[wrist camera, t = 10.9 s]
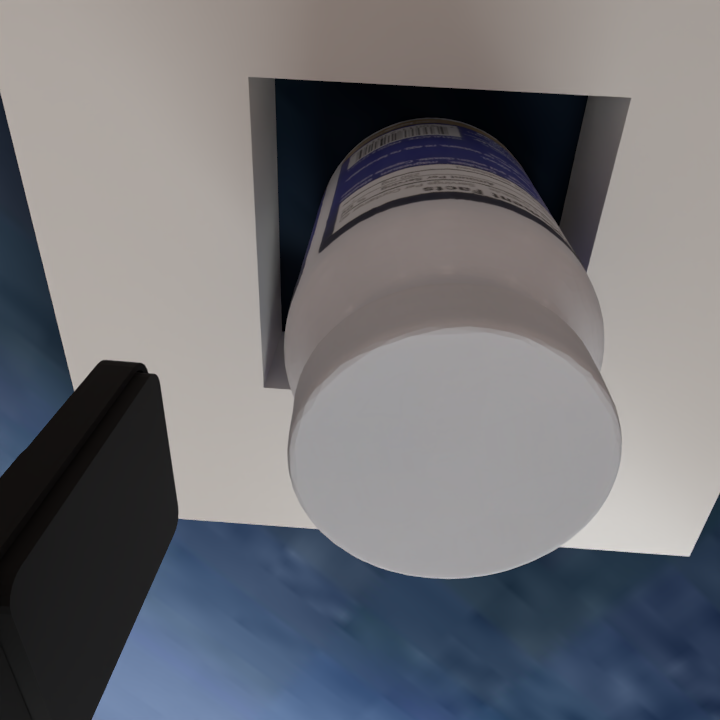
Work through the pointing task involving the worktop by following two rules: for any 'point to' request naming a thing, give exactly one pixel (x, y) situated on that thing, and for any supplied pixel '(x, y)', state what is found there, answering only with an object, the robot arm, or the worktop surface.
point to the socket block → (261, 213)
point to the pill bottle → (445, 362)
